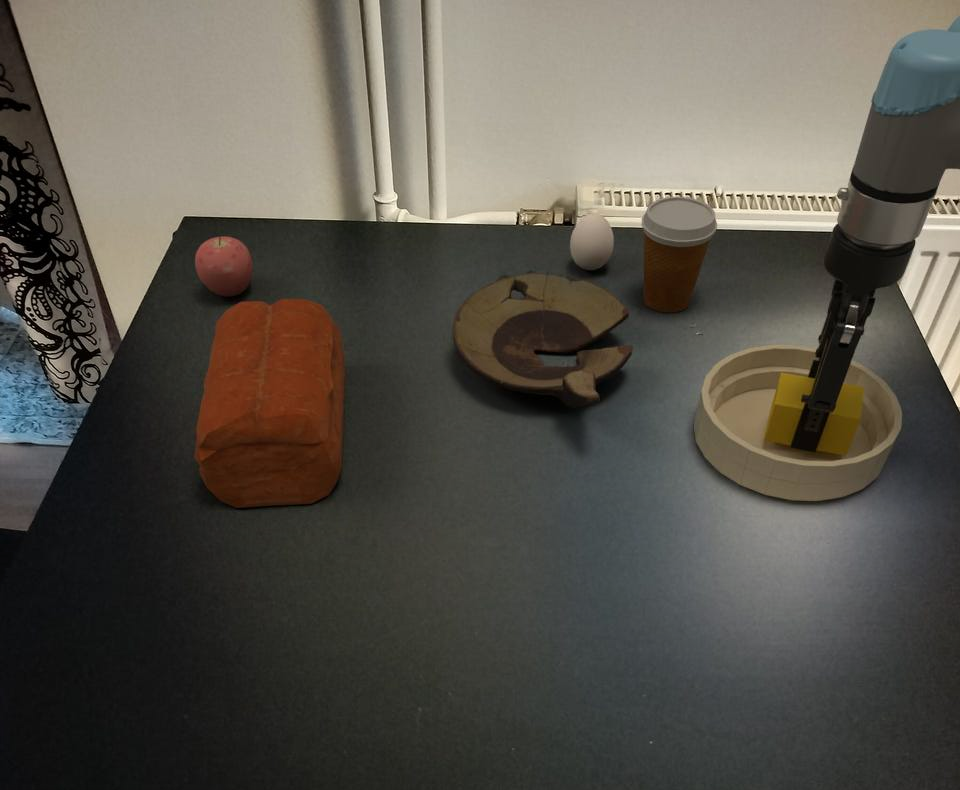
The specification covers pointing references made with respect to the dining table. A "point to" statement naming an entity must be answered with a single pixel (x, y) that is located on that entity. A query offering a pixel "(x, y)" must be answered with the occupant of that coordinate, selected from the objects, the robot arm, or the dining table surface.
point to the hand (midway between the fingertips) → (806, 429)
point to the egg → (592, 242)
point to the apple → (224, 265)
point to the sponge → (790, 409)
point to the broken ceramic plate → (541, 335)
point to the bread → (272, 405)
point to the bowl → (777, 467)
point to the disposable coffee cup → (674, 250)
